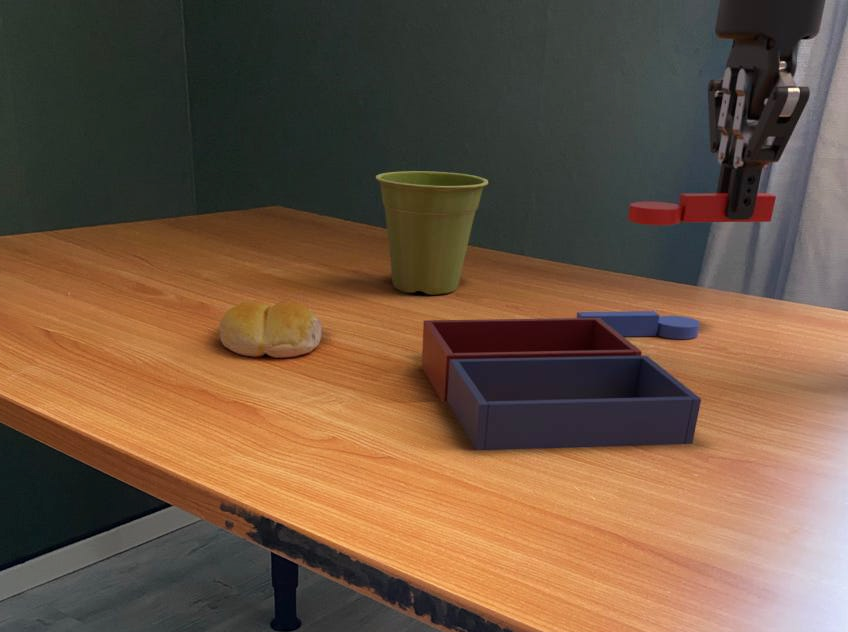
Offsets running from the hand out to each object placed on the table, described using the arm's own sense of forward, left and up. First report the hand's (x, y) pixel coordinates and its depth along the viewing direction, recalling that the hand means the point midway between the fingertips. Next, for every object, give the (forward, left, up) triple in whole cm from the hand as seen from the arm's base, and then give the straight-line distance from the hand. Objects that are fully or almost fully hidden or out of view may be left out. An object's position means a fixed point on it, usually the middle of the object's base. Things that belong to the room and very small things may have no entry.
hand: (732, 215), depth 82 cm
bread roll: (+38, -6, -12) cm, 41 cm away
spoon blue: (+3, -8, -12) cm, 15 cm away
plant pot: (+20, -28, -12) cm, 37 cm away
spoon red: (+3, 0, 0) cm, 3 cm away
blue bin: (+18, +17, -12) cm, 28 cm away
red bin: (+18, +6, -12) cm, 23 cm away
